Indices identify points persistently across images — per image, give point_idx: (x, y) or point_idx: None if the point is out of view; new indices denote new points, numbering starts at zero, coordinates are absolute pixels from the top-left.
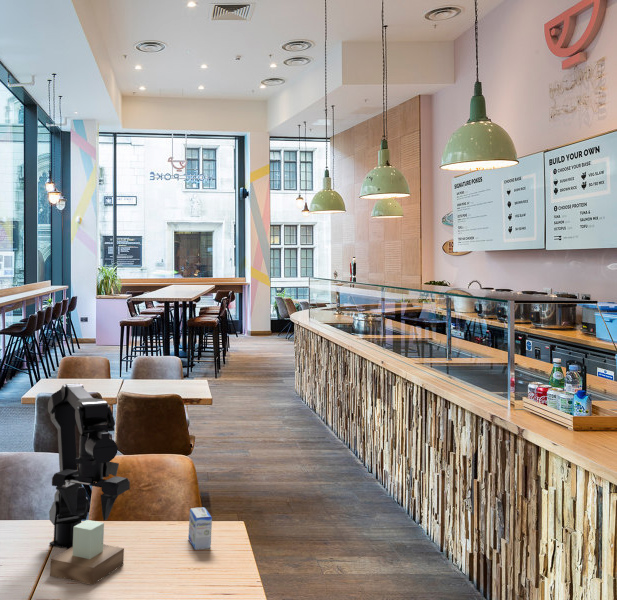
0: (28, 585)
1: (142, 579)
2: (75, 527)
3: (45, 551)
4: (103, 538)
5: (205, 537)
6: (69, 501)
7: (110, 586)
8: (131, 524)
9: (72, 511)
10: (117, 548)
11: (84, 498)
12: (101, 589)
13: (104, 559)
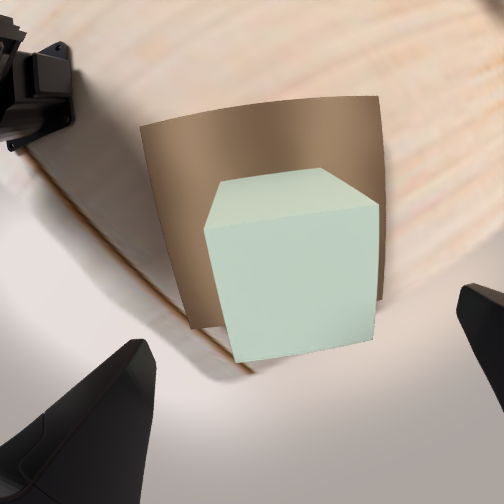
0: (203, 354)
1: (460, 169)
2: (251, 359)
3: (37, 185)
4: (339, 179)
5: None
6: (138, 493)
7: (410, 249)
8: None
9: (152, 393)
10: (356, 110)
11: None
12: (397, 274)
13: (379, 229)
